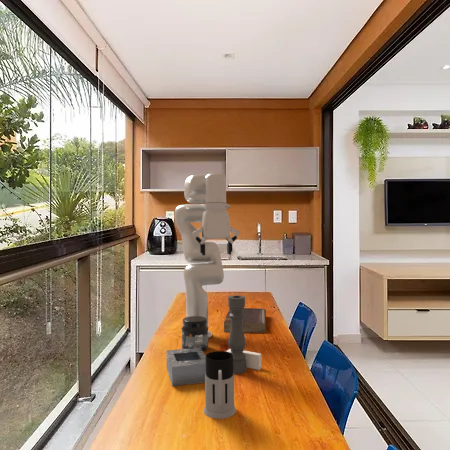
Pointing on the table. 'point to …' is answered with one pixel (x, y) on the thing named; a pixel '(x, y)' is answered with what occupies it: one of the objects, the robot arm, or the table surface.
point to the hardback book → (249, 320)
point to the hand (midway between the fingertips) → (216, 254)
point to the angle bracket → (252, 359)
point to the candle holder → (237, 333)
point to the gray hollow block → (186, 366)
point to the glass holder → (219, 385)
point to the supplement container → (195, 333)
